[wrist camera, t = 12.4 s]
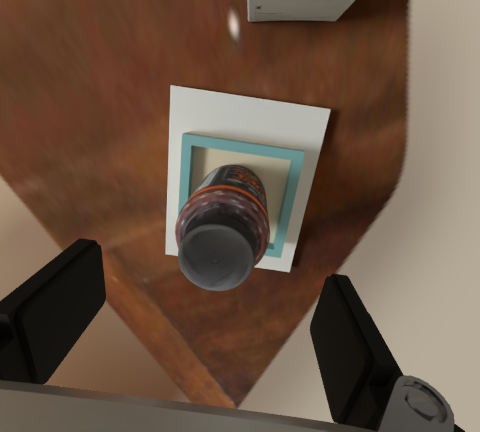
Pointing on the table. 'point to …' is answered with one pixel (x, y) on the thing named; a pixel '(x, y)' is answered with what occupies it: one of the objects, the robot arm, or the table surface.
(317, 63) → the table surface
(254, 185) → the supplement bottle
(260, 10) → the supplement box
